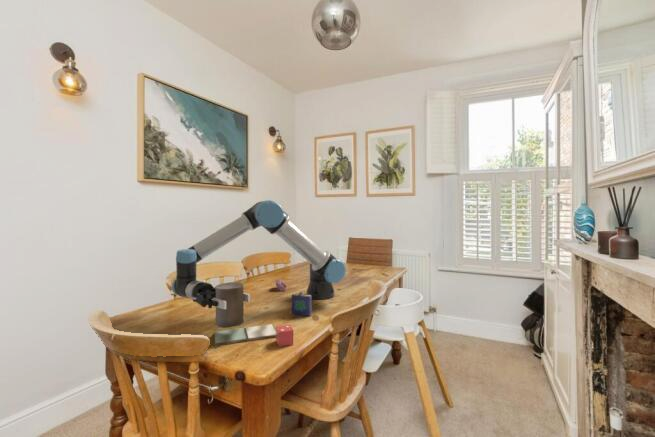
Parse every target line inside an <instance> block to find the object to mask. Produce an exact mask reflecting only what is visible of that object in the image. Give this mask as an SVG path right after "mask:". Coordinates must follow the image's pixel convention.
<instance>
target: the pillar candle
mask: <svg viewBox="0 0 655 437" xmlns="http://www.w3.org/2000/svg"><path fill="white" fill-rule="evenodd" d="M214 288H215V289H216V298H217V299H221V300H224V301H226V309H225V310H224V309H221V308H218V307H215V325H216V327H218V328H223V329H225V328H226V329H227V328H232V327H238V326H241V325H243V323H244V321H245V320H244V315H245V314H244V312H245V311H244V301H243V293H244V284H243V283H242V282H237V281H236V282H235V281H234V282H233V281H232V282H231V281H229V282H224V283H219V284H217V285H215V287H214Z"/></svg>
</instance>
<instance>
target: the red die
mask: <svg viewBox="0 0 655 437" xmlns="http://www.w3.org/2000/svg"><path fill="white" fill-rule="evenodd" d="M275 329H276V337H275V342H276V344H277V345H278V347H279V348H281V347H288V346H294V329H293V327H292V326H291V325H290V324H289V325H288V324H287V325H280V326H276V327H275Z"/></svg>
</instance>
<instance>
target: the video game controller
mask: <svg viewBox="0 0 655 437" xmlns="http://www.w3.org/2000/svg"><path fill="white" fill-rule="evenodd" d="M275 286H276V288H277V289H278V291H281V292H286V290H287V289H286V288H287V284H286V283H285V282H283V280H282V279H280V278H278V279H276V280H275Z"/></svg>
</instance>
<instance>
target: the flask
mask: <svg viewBox="0 0 655 437" xmlns="http://www.w3.org/2000/svg"><path fill="white" fill-rule="evenodd" d="M312 299H313V298H312V296H311V295H307V294H304V290H300V291H299V293H297V292H295V293H292V294H291V315H292V316H297V317H306V318H307V317H312V314H313V313H312V312H313V311H312V309H313V308H312V307H313V306H312Z"/></svg>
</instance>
